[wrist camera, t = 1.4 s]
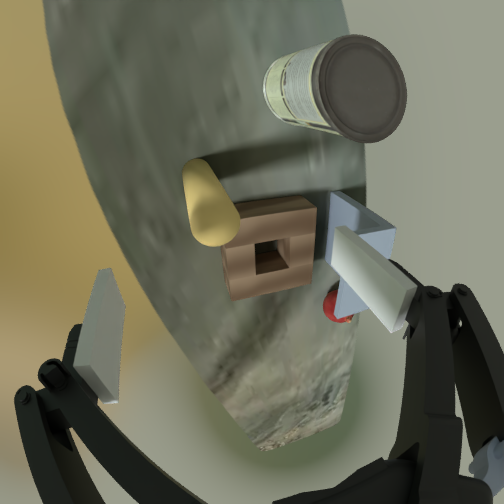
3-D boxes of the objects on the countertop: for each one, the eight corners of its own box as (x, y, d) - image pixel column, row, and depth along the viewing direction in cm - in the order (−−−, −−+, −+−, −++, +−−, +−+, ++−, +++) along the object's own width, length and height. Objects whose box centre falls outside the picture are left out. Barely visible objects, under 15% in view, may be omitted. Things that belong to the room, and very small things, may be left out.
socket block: (216, 206, 36) (222, 221, 32) (300, 195, 38) (316, 207, 34) (224, 280, 42) (231, 301, 38) (297, 265, 45) (311, 283, 40)
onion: (341, 275, 49) (364, 302, 42) (344, 296, 52) (365, 323, 45) (313, 289, 48) (334, 319, 42) (318, 310, 52) (337, 338, 45)
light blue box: (300, 195, 38) (352, 236, 27) (339, 190, 40) (396, 227, 29) (297, 265, 45) (337, 319, 34) (333, 257, 46) (376, 305, 35)
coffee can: (315, 44, 28) (386, 27, 16) (343, 110, 33) (417, 123, 22) (247, 69, 28) (295, 49, 16) (282, 138, 34) (342, 161, 22)
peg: (180, 160, 32) (187, 204, 18) (209, 156, 32) (238, 196, 19) (184, 188, 33) (194, 250, 20) (212, 183, 34) (242, 241, 21)
